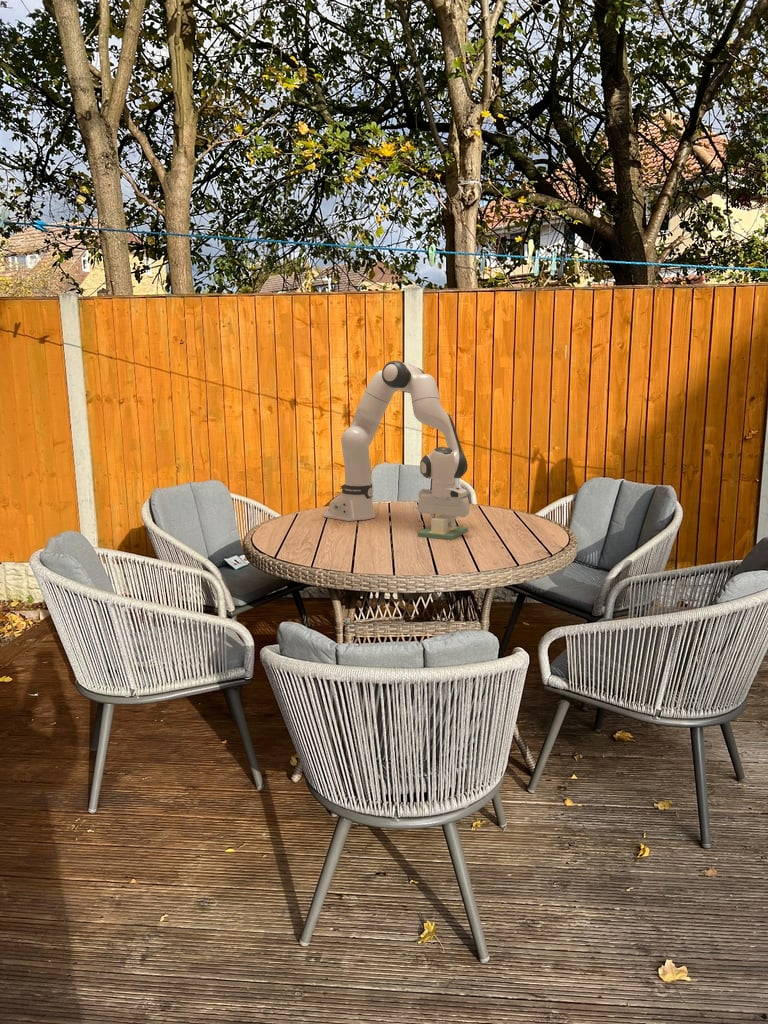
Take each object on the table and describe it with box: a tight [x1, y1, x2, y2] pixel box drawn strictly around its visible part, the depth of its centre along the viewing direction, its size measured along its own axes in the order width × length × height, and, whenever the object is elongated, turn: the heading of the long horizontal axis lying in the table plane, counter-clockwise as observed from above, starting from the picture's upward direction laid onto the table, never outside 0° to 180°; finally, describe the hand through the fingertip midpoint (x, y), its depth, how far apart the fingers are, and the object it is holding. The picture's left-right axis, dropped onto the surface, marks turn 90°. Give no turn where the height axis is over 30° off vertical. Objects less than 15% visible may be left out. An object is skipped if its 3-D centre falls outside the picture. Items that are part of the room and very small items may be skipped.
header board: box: [416, 525, 469, 541], centre depth 291 cm, size 14×16×5 cm
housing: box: [430, 515, 456, 533], centre depth 291 cm, size 5×11×5 cm, turn 152°
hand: (443, 526), depth 291 cm, fingers closed on housing, 5 cm apart
